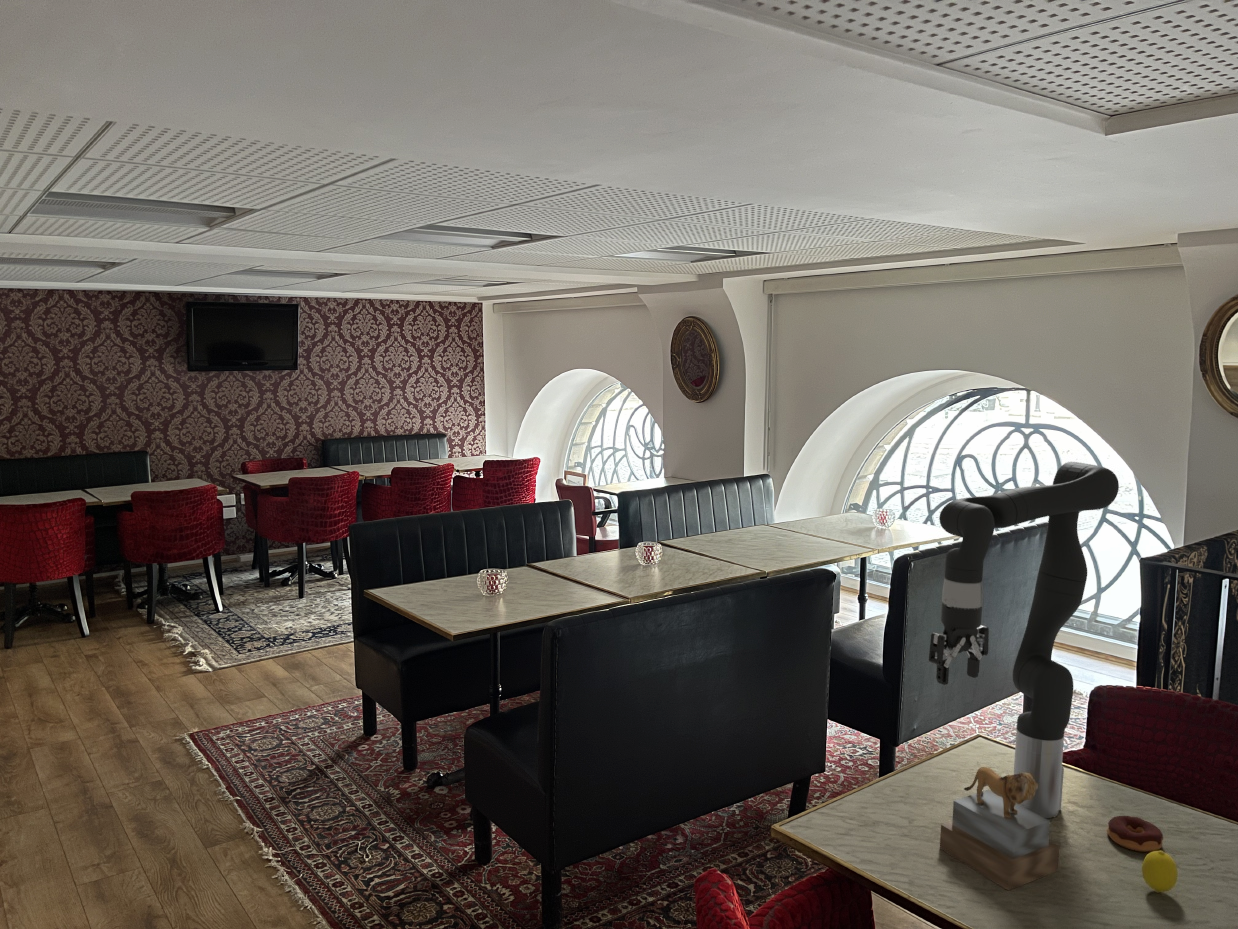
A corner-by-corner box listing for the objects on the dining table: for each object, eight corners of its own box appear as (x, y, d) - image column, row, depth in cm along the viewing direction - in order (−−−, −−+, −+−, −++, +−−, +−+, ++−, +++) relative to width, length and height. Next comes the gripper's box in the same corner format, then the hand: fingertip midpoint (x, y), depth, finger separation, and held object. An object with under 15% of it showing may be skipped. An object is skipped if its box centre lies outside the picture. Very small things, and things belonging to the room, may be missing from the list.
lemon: (1133, 884, 168) (1137, 843, 167) (1161, 883, 169) (1165, 842, 168) (1153, 902, 163) (1157, 860, 162) (1182, 900, 163) (1186, 859, 162)
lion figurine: (1040, 819, 172) (1043, 774, 170) (1024, 827, 168) (1028, 781, 167) (971, 788, 183) (973, 746, 182) (955, 795, 180) (957, 752, 179)
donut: (1110, 824, 190) (1111, 806, 190) (1164, 839, 184) (1166, 820, 184) (1102, 845, 182) (1104, 826, 181) (1159, 861, 176) (1160, 842, 176)
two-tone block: (988, 831, 186) (991, 785, 185) (1058, 870, 172) (1061, 821, 171) (939, 848, 180) (942, 800, 178) (1008, 890, 166) (1011, 839, 164)
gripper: (971, 593, 187) (967, 668, 189) (921, 601, 180) (917, 679, 182) (1002, 601, 181) (997, 680, 183) (951, 610, 174) (947, 692, 176)
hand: (957, 680), depth 182 cm, fingers open, 8 cm apart
